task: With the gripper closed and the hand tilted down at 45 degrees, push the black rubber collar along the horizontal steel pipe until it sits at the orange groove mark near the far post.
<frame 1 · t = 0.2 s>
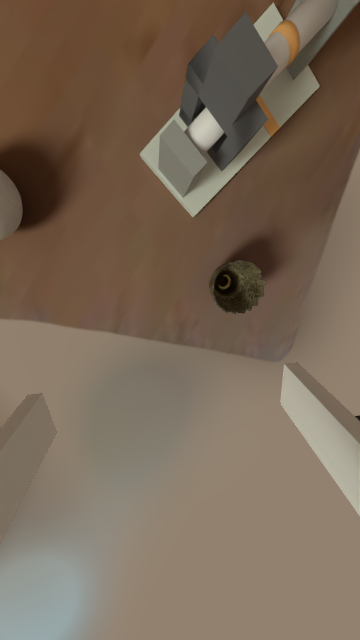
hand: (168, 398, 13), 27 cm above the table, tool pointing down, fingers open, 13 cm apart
cup: (222, 281, 39), on the table
pipe stand: (227, 124, 33), on the table
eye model: (0, 207, 33), on the table
collar: (223, 106, 23), point 11 cm above the table, slide at 0.0 cm
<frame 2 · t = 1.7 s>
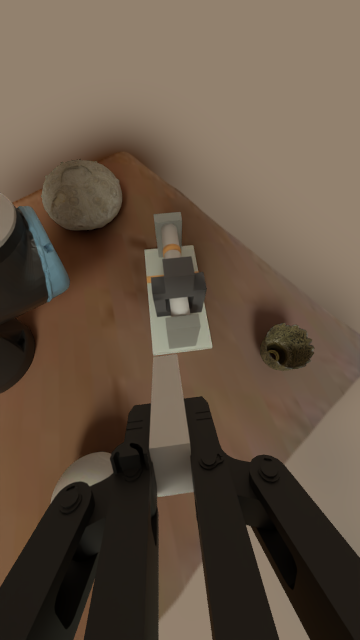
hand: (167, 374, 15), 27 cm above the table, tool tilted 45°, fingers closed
grey stone: (90, 213, 58), on the table
cup: (270, 357, 43), on the table
pipe stand: (175, 296, 48), on the table
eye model: (105, 485, 35), on the table
collar: (178, 290, 36), point 11 cm above the table, slide at 0.0 cm
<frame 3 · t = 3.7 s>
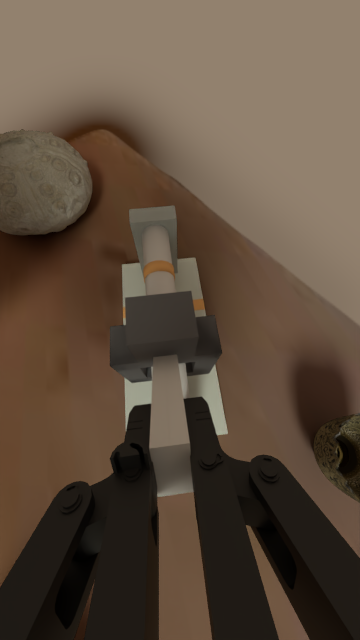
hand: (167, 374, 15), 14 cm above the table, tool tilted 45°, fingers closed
grey stone: (49, 211, 40), on the table
cup: (326, 450, 26), on the table
pipe stand: (167, 339, 31), on the table
collar: (166, 347, 19), point 11 cm above the table, slide at 0.5 cm, touching gripper
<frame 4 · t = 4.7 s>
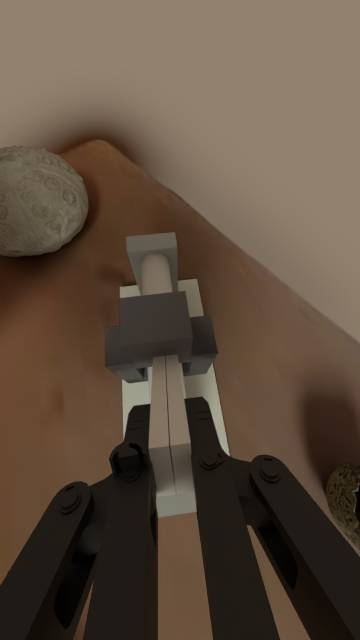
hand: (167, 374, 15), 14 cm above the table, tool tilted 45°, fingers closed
grey stone: (44, 228, 39), on the table
cup: (338, 492, 24), on the table
pipe stand: (167, 368, 29), on the table
collar: (162, 347, 19), point 11 cm above the table, slide at 4.4 cm, touching gripper
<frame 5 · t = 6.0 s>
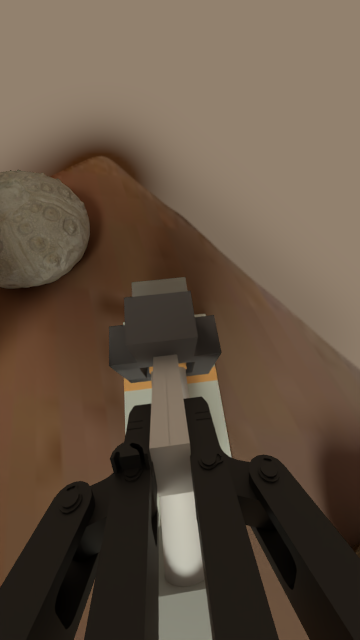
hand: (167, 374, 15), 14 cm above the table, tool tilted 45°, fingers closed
grey stone: (43, 253, 37), on the table
pipe stand: (174, 415, 27), on the table
collar: (165, 347, 19), point 11 cm above the table, slide at 9.9 cm, touching gripper
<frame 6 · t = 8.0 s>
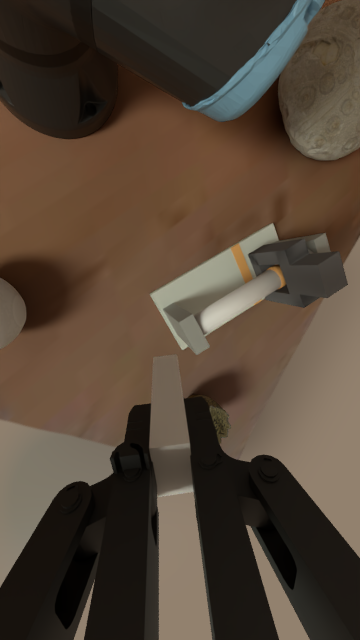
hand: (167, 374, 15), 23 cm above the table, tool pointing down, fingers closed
grey stone: (309, 110, 38), on the table
cup: (192, 401, 44), on the table
pipe stand: (224, 286, 40), on the table
collar: (292, 274, 30), point 11 cm above the table, slide at 10.0 cm
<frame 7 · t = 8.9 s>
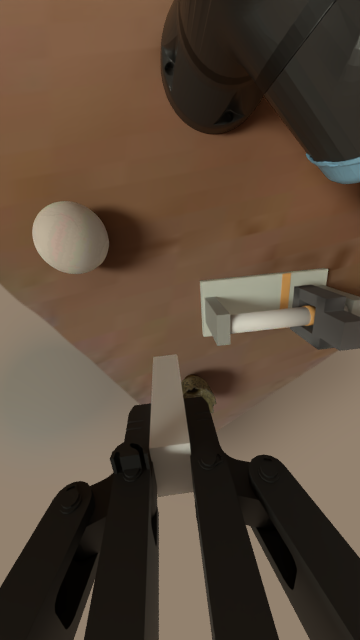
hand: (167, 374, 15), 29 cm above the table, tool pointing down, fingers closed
cup: (191, 379, 51), on the table
pipe stand: (261, 302, 45), on the table
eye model: (83, 238, 39), on the table
collar: (322, 319, 35), point 11 cm above the table, slide at 10.0 cm
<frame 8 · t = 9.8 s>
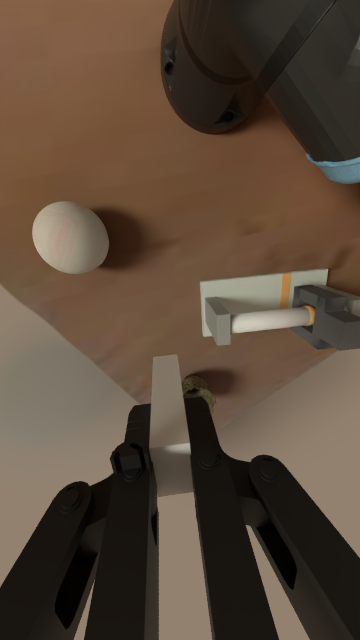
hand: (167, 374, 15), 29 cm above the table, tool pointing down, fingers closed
cup: (191, 379, 51), on the table
pipe stand: (261, 302, 45), on the table
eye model: (83, 238, 39), on the table
collar: (322, 319, 35), point 11 cm above the table, slide at 10.0 cm
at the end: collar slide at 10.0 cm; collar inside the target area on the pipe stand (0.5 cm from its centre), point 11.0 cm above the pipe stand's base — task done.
